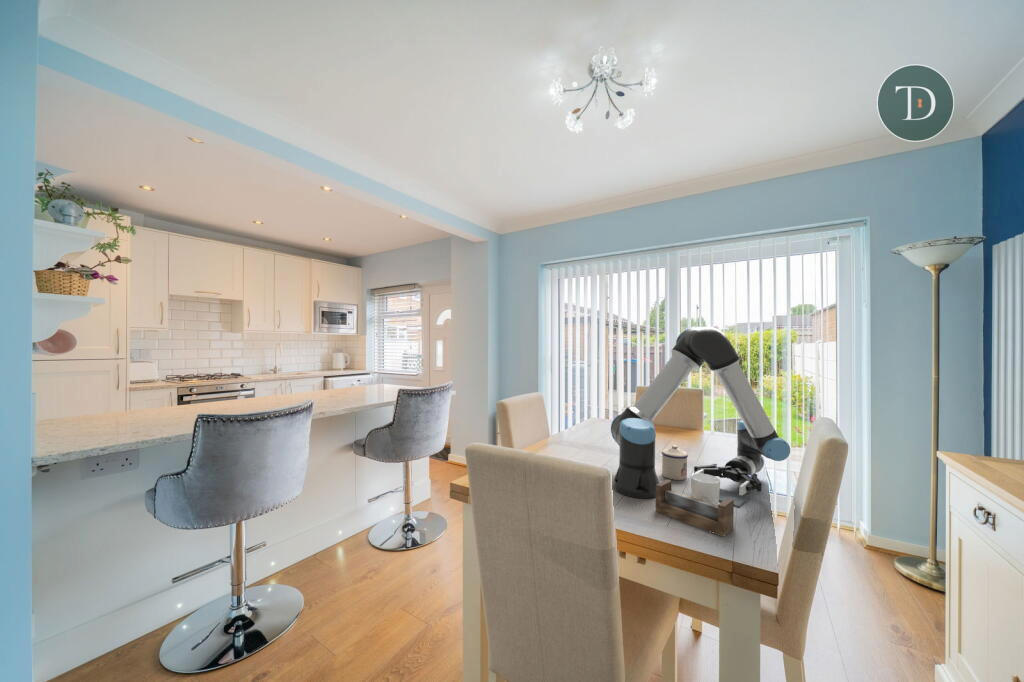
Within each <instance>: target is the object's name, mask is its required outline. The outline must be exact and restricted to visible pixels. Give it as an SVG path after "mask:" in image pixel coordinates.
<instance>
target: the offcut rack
mask: <svg viewBox="0 0 1024 682" xmlns="http://www.w3.org/2000/svg"><path fill="white" fill-rule="evenodd" d="M672 482H673V480H672V479H669V478H667V479H665V480H663V481H661V482H659V484H657V485H656V497H655V512H656V513H658V514H661V515H665V516H667V517H670V518H672V519H675V520H678V521H680V522H683V523H686V524H688V525H690V526H694V527H697V528H699V529H701V528H702V530H704V529H705V531H707V530H708V531H707V532H709V531H711V532H710V533H712V532H714V533H713V534H715V533H716V534H715V535H717V534H719V535H718V536H720V535H722V536H721V537H723V536H724V535H725V536H727V533H728V532H729V531H730V532H731V531H732V530H733V529H734V518H735V517H734V515H735V513H734V509H735V508H734V507H735V506H734V499H731V498H727V499H725V500H724V501H723V502H719V504H718V506H717V505H714V504H711V503H708V502H705V501H702V500H699V499H696V498H693V497H692V496H689V495H686V494H683V493H681V492H676V491H674V490H673V489H672V487H673V486H672V484H673V483H672ZM731 529H732V530H731ZM730 532H729V533H730ZM729 533H728V534H729ZM725 536H724V537H725Z"/></svg>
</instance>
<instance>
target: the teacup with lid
mask: <svg viewBox="0 0 1024 682" xmlns="http://www.w3.org/2000/svg"><path fill="white" fill-rule="evenodd" d="M661 455H662V456H661V458H662V459H661V462H662V465H661V475H662V476H663V477H664V478H665V479H666V478H667V479H668V480H672V479H673V480H674V481H684V480H686V479H687V478H688V457H689V456H688V453H687V452H686V451H684V450H682V449H680V448H678V445H675V444H674V445H673V444H672V445H671V447H669V448H665V449H663V450H662V451H661ZM673 480H672V481H673Z"/></svg>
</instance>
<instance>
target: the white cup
mask: <svg viewBox="0 0 1024 682" xmlns="http://www.w3.org/2000/svg"><path fill="white" fill-rule="evenodd" d="M720 479H721V478H718V476H712V475H708V474H694V473H692V474H691V475H690V481H691V482H690V484H691V485H690V487H691V497H693V498H696V499H699V500H702V501H705V502H708V503H711V504H714V505H717V506H718V504H720V502H719V492H720V489H721V480H720Z"/></svg>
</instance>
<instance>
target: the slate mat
mask: <svg viewBox="0 0 1024 682" xmlns="http://www.w3.org/2000/svg"><path fill="white" fill-rule="evenodd" d="M727 498H731V499H734V507H735V506H736V508H741V507H742V506H744V504H745V503H747V502H749V500H750V499H751V497H750V496H747V495H745V494H744V495H739V493H737V492H733V491H729V490H727V489H723V488H720V492H719V501H720V502H719V503H721V502H723V501H724V500H725V499H727ZM746 501H747V502H746ZM741 505H742V506H741ZM740 506H741V507H740Z"/></svg>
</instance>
